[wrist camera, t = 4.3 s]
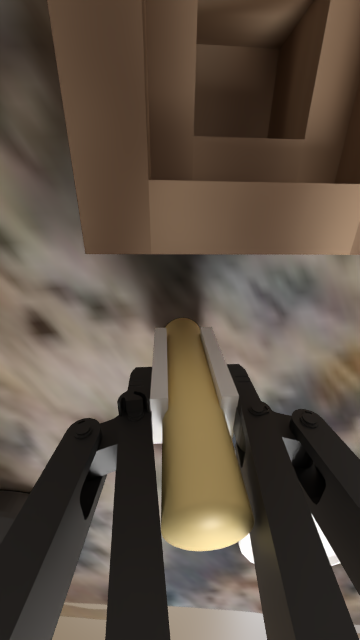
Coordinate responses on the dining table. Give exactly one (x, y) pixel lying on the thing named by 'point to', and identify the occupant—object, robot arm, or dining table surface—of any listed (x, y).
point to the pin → (198, 453)
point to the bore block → (212, 124)
